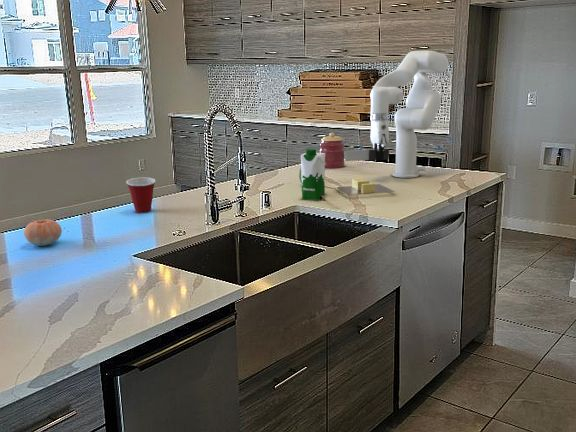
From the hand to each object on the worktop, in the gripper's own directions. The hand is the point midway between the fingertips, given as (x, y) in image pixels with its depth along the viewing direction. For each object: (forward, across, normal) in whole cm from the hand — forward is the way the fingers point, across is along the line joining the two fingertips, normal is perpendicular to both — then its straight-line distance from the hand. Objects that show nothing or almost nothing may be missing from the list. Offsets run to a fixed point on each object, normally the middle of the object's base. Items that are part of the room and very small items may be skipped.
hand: (378, 159), depth 258 cm
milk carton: (+12, -16, +35) cm, 40 cm away
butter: (+10, -11, +13) cm, 20 cm away
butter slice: (+10, -20, +13) cm, 26 cm away
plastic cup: (+12, -15, +102) cm, 104 cm away
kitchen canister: (+11, +51, +4) cm, 53 cm away
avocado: (+12, +8, +30) cm, 33 cm away
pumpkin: (+13, -48, +133) cm, 142 cm away
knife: (0, 0, +6) cm, 6 cm away
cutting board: (+11, -14, +12) cm, 21 cm away
